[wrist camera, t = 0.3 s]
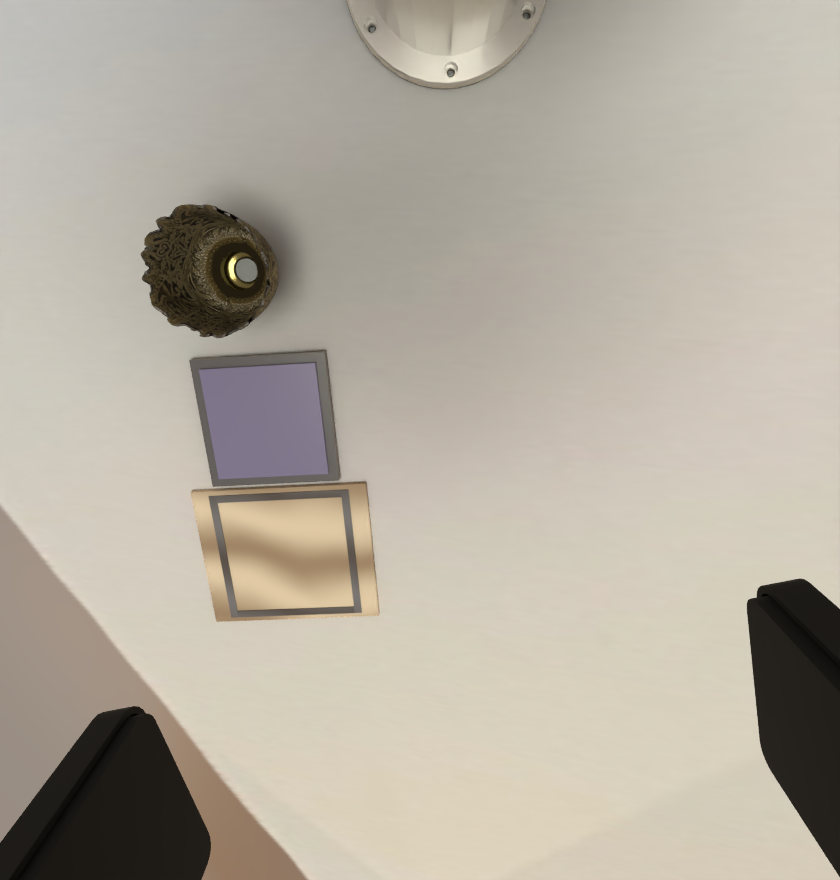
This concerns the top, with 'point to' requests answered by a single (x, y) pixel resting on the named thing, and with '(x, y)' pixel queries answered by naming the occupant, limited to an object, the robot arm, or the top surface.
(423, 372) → the top surface
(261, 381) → the ink pad
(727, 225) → the top surface
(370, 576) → the board
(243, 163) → the top surface
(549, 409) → the top surface
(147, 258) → the cup
